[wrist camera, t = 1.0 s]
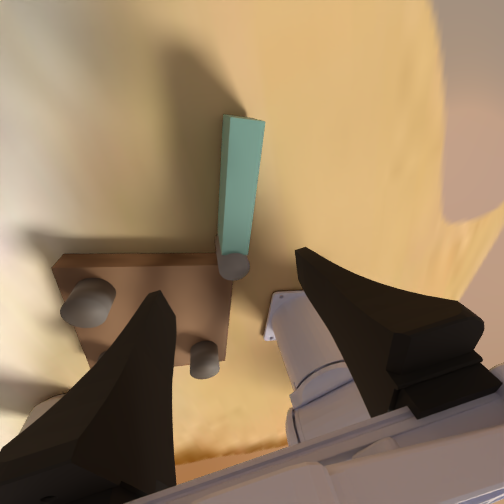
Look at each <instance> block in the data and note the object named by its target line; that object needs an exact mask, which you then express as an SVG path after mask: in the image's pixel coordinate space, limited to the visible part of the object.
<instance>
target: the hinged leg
mask: <svg viewBox="0 0 504 504" xmlns="http://www.w3.org/2000/svg"><path fill="white" fill-rule="evenodd" d="M264 128H265V121H261V120H257V119H254V118H248V117H241V116H233V115H226V114H223V127H222V147H221V168H220V188H219V208H218V229H217V232H218V233H217V235H216V237H215V248H216V255H217V261H218V268H219V273H220V275H221V276H222V277H223V278H224V279H227V280H231V281H234V280H239V279H241V278H243V277H244V276H246V275H247V273H248V272H249V269H250V264H249V261H248V258H247V255H248V250H249V243H250V235H251V228H252V220H253V212H254V205H255V197H256V189H257V182H258V174H259V166H260V159H261V151H262V144H263V136H264Z"/></svg>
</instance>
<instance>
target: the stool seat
mask: <svg viewBox="0 0 504 504" xmlns="http://www.w3.org/2000/svg"><path fill="white" fill-rule="evenodd" d="M51 269H52V271H53V274H54V276H55V279H56V282H57V284H58V287H59V289H60V292H61V294H62V297H63V299H64V302H65V303H64V304H63V306H62V307H61V310H60V314H61V317H62V318H63V319H64V320H65V321H66V322H67V323H69V324H70V325H73V326H74V328H75V330H76V333H77V335H78V338H79V340H80V343H81V346H82V348H83V351H84V353H85V356H86V358H87V361H88V364H89V366H90V369H91V368H92V367H93V366H94V365H95V364H96V363H97V361H98V360H99V359H100V358H101V357H102V356H103V355H104V353H105V352H106V351H107V350H108V349H109V347H110V346H111V345H112V344H113V342H114V341H115V340H116V338H117V337H118V336H119V334H120V333H121V332H122V330H123V329H124V328H125V326H126V325H127V324H128V322H129V321H130V319H131V318H132V316H133V315H134V314H135V312H136V311H137V309H138V308H139V306H140V305H141V303H142V302H143V300H144V299H145V298H146V296H147V295H148V294H149V293H151V292H155V291H158V290H161V292H162V293H163V295H164V297H165V298H166V300H167V302H168V304H169V305H170V307H171V309H172V310H173V312H174V314H175V315H176V326H177V337H176V348H175V358H174V366H183V365H190V374H191V376H192V377H194V378H196V379H207V378H210V377H213V376H215V375H216V374H217V373H218V372H219V369H220V367H219V361H225V356H226V346H227V336H228V326H229V316H230V306H231V296H232V285H233V281H231V280H227V279H224V278H223V277H222V276H221V275H220V273H219V268H218V261H217V255H216V253H160V254H63V255H62V256H61V258H60V259H59V260H58V261H57V262H56V263H55V264H54V266H53V267H52V268H51Z"/></svg>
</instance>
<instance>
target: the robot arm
mask: <svg viewBox="0 0 504 504" xmlns="http://www.w3.org/2000/svg"><path fill="white" fill-rule="evenodd" d="M295 256H296V264H297V272H298V279H299V282H300V284H301V286H302V288H303V291H282V292H275V293H273V295H272V299H271V303H270V308H269V313H268V317H267V322H266V326H265V331H264V336H263V338H264V340H265V341H271V340H276V341H277V344H278V347H279V350H280V352H281V355H282V358H283V361H284V364H285V367H286V370H287V373H288V376H289V378H290V381H291V384H292V387H293V390H294V392H293V393H292V394H290V395H289V396H290V399H291V402H292V405H293V407H292V408H290V409H289V410H288V412H287V419H286V436H287V441H288V445H289V447H286V448H283V449H280V450H278V451H275V452H272V453H269V454H266V455H263V456H260V457H257V458H254V459H252V460H249V461H246V462H243V463H240V464H237V465H234V466H232V467H228V468H226V469H223V470H220V471H217V472H214V473H211V474H208V475H205V476H202V477H199V478H196V479H194V480H191V481H188V482H185V483H182V484H179V485H176V475H175V461H174V445H173V423H172V378H173V367H174V358H175V348H176V337H177V326H176V315H175V314H174V312H173V310H172V309H171V307H170V305H169V304H168V302H167V300H166V298H165V297H164V295H163V293H162V292H161V290H158V291H155V292H151V293H149V294H148V295H147V296H146V298H145V299H144V300H143V302H142V303H141V305H140V306H139V308H138V309H137V311H136V312H135V314H134V315H133V316H132V318H131V319H130V321H129V322H128V324H127V325H126V326H125V328H124V329H123V330H122V332H121V333H120V334H119V336H118V337H117V338H116V340H115V341H114V342H113V344H112V345H111V346H110V347H109V349H108V350H107V351H106V352H105V353H104V355H103V356H102V357H101V358H100V359H99V360H98V361H97V363H96V364H95V365H94V366H93V367H92V368H91V369H90V370H89V371H88V372H87V373H86V374H85V375H84V376H83V377H82V378H81V379H80V380H79V381H78V382H77V383H76V384H75V385H74V386H73V387H72V388H71V389H70V390H69V391H68V392H67V393H66V394H65V395H64V396H63V397H62V398H61V399H60V400H59V401H58V402H56V403H55V404H54V405H53V406H52V407H51V408H50V409H49V410H47V411H46V412H45V413H44V414H43V415H42V416H41V417H39V418H38V419H37V420H36V421H35V422H33V423H32V424H31V425H30V426H29V427H27V428H26V429H25V430H24V431H22V432H21V433H20V434H19V435H18V436H16V437H15V438H14V439H13V440H11V441H10V442H9V443H8V444H6V445H5V446H4V447H3V448H2V449H1V451H0V504H492V503H494V502H497V501H499V500H501V499H504V363H501V364H498V365H496V366H494V367H493V368H491V369H490V370H488V369H487V368H486V367H484V366H483V365H482V364H481V363H480V362H482V361H483V359H482V357H481V356H480V355H479V354H477V353H476V352H475V351H474V348H475V346H476V345H477V343H478V341H479V339H480V338H481V336H482V334H483V331H484V322H483V320H482V319H481V318H480V317H478V316H477V315H476V314H474V313H473V312H472V311H470V310H469V309H468V308H466V307H465V306H464V305H462V304H461V303H459V302H458V301H455V300H449V299H443V298H437V297H432V296H426V295H422V294H417V293H413V292H409V291H405V290H401V289H397V288H394V287H391V286H387V285H384V284H381V283H378V282H375V281H372V280H370V279H367V278H364V277H362V276H359V275H357V274H355V273H353V272H350V271H348V270H346V269H344V268H342V267H340V266H338V265H336V264H334V263H332V262H331V261H329V260H327V259H325V258H324V257H322V256H320V255H319V254H317V253H315V252H314V251H312V250H310V249H308V248H307V247H304V248H300V249H297V250H295ZM281 295H282V296H281Z"/></svg>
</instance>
